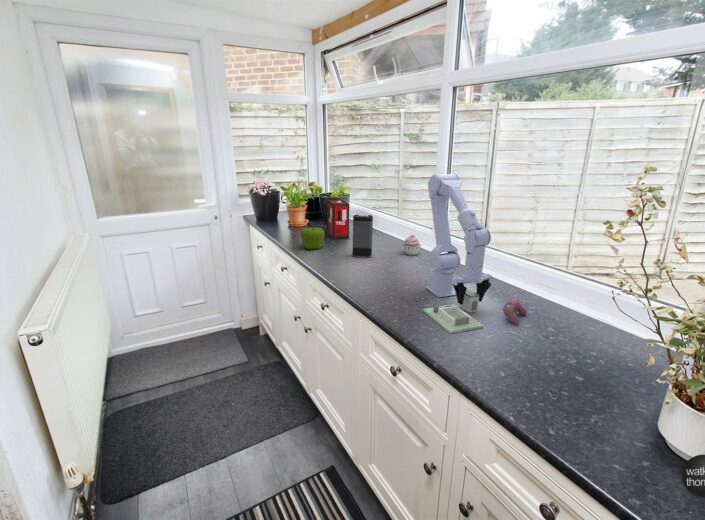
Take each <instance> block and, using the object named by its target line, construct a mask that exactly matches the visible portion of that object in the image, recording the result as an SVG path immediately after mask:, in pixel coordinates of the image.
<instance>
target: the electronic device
mask: <svg viewBox="0 0 705 520" xmlns="http://www.w3.org/2000/svg"><path fill="white" fill-rule="evenodd" d="M373 218H374V216H373V215H371V214H367V215H360V214H354V215H353V216H352V257H353V258H365V257H366V259H367V258H368V259H369V257H370V258H372V255H373V253H372V251H373V224H374V223H373V221H374V219H373Z"/></svg>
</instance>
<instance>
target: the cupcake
mask: <svg viewBox="0 0 705 520" xmlns="http://www.w3.org/2000/svg"><path fill="white" fill-rule="evenodd" d="M402 246H403V250H404V251H403V252H404V254H405V255H407V256H416V255H418V252H419V250H420V249H421V247H422V246H421V244H420V242H419V239H418V238H417V237H416V236H415V235H414V234H411V235H409V236H408V237H406V238H405V240H404V242H403V243H402Z"/></svg>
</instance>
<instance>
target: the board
mask: <svg viewBox="0 0 705 520" xmlns="http://www.w3.org/2000/svg"><path fill="white" fill-rule="evenodd" d="M423 312H424V313H425V314H426V315H427V316H428V317H430V318H431V319H432V320H433V321H434V322H436V323H437V325H439V326H440V327H442V328H443V329H444V330H445V331H446V332H448V334H451V335H452V334H455V333H461V332H466V331H472V330H478V329H483V328H484V324H482V323H480V321H478V320H477V319H475V318H474V317H472V316H471V315H469V314H468V312H466V311H465V310H463V309H461V307H458V306H457V305H456V304H448V305H447V304H446V305H441V306H438V305H434V306H432V307H428V308H423Z"/></svg>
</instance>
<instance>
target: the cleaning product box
mask: <svg viewBox="0 0 705 520" xmlns="http://www.w3.org/2000/svg"><path fill="white" fill-rule="evenodd" d="M326 233H327V235H328V236H329V237H331V238H332V239H333V241H335V240H338V241H339V240H349V239H350V204H349V202H347V201H345V200H342V199H326Z"/></svg>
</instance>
